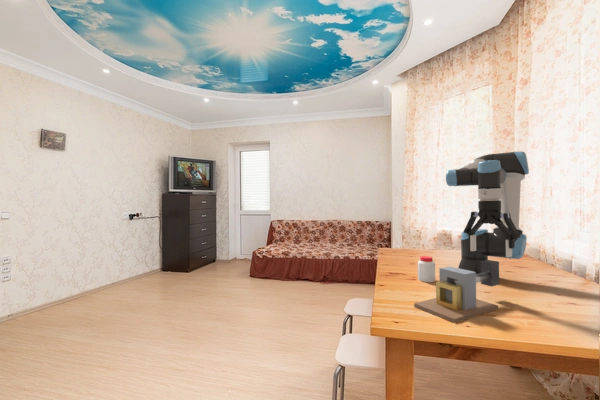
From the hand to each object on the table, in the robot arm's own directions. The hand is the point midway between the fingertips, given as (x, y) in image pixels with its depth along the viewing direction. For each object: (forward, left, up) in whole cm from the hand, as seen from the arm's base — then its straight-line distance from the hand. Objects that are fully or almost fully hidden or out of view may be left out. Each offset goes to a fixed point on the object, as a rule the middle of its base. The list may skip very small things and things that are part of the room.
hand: (490, 253), depth 116 cm
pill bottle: (0, -30, -18) cm, 35 cm away
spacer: (+25, 0, -16) cm, 30 cm away
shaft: (+10, 0, -12) cm, 15 cm away
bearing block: (+20, 0, -17) cm, 27 cm away
